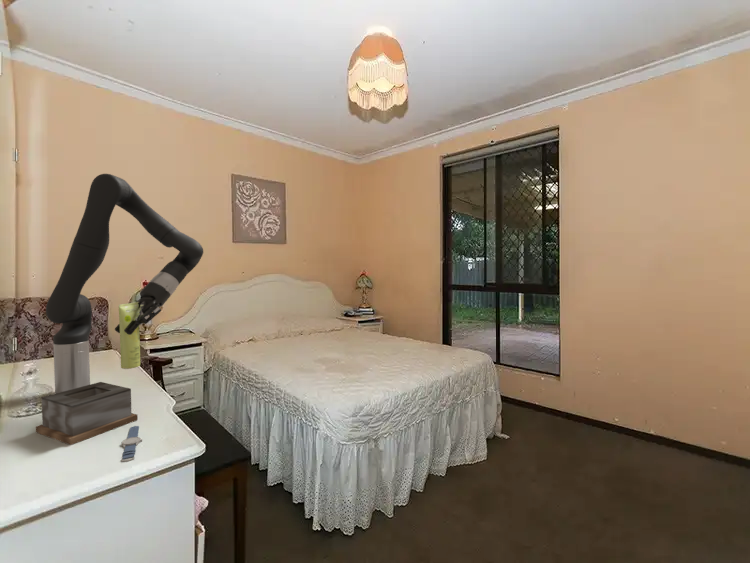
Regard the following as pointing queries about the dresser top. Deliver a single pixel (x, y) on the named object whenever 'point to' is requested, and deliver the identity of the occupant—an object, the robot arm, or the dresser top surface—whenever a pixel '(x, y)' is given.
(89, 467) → the dresser top surface
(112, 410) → the socket
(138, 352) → the tube
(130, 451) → the wristwatch
